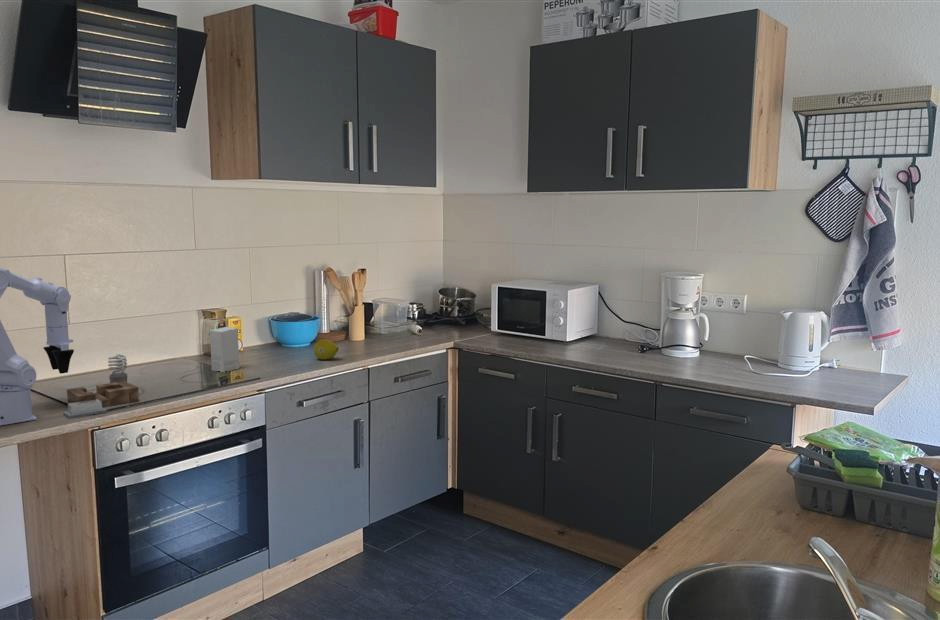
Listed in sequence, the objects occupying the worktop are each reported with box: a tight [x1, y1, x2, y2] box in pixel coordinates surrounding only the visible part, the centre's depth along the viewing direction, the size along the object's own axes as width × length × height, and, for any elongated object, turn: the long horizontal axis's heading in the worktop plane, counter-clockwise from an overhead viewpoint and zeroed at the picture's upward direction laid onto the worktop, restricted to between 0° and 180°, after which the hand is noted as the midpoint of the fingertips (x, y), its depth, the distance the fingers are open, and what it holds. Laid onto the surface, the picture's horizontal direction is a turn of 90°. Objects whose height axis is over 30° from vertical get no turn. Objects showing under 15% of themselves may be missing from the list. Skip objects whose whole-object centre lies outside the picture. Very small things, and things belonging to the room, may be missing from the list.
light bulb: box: [107, 353, 128, 383], centre depth 244 cm, size 6×6×12 cm
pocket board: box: [66, 381, 140, 408], centre depth 229 cm, size 17×12×4 cm
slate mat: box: [62, 407, 108, 420], centre depth 217 cm, size 10×6×1 cm, turn 133°
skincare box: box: [209, 326, 240, 373], centre depth 276 cm, size 8×7×16 cm
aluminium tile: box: [67, 399, 102, 414], centre depth 216 cm, size 8×4×2 cm, turn 131°
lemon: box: [313, 339, 339, 361], centre depth 297 cm, size 11×8×8 cm
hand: (60, 371), depth 225 cm, fingers open, 7 cm apart
